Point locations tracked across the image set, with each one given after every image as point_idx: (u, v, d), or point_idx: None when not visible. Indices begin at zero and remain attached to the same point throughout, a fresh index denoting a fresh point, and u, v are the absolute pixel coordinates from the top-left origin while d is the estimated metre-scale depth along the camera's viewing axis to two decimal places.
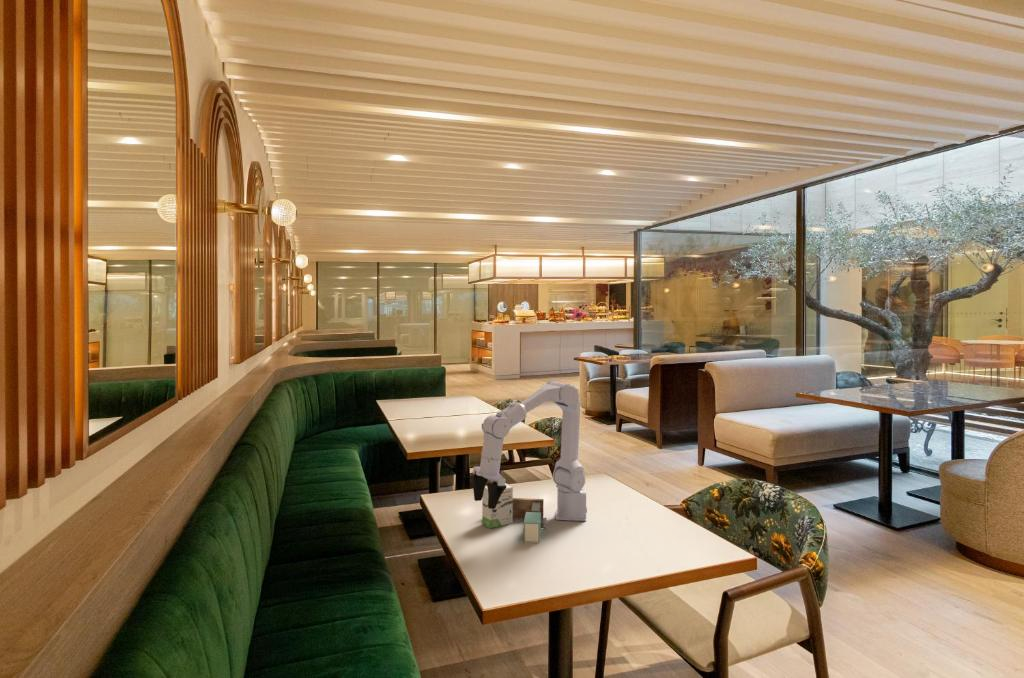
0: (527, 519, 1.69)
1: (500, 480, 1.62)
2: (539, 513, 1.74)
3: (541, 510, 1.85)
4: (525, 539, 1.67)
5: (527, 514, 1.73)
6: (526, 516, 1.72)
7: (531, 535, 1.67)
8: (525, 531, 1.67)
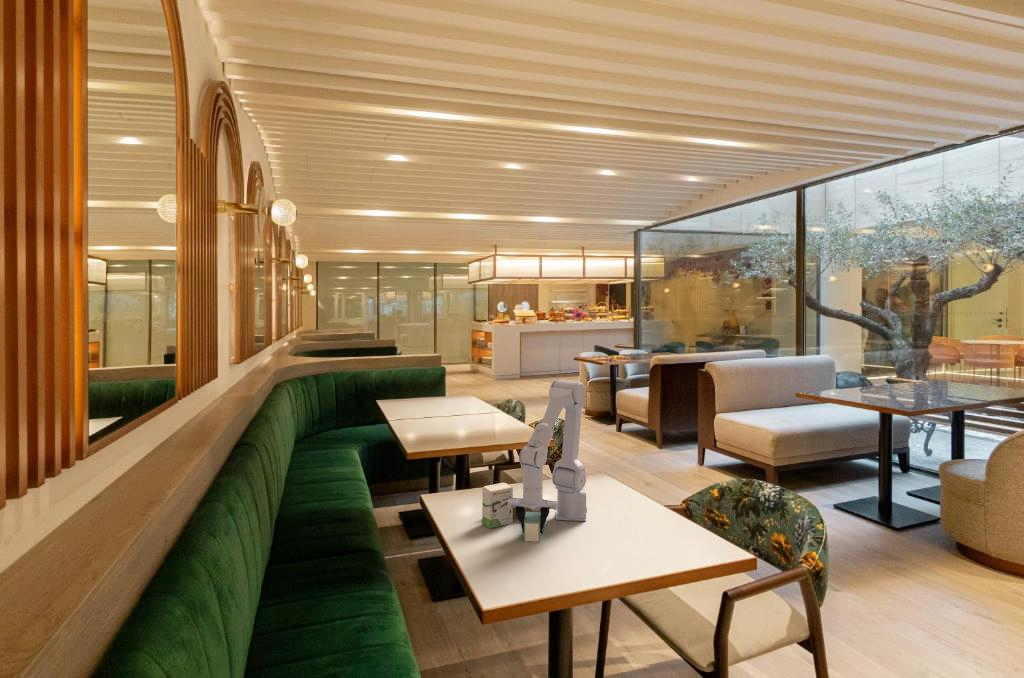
0: (527, 519, 1.69)
1: (557, 504, 1.69)
2: (539, 512, 1.74)
3: None
4: (525, 539, 1.67)
5: (527, 514, 1.73)
6: (526, 516, 1.71)
7: (531, 535, 1.67)
8: (525, 531, 1.67)
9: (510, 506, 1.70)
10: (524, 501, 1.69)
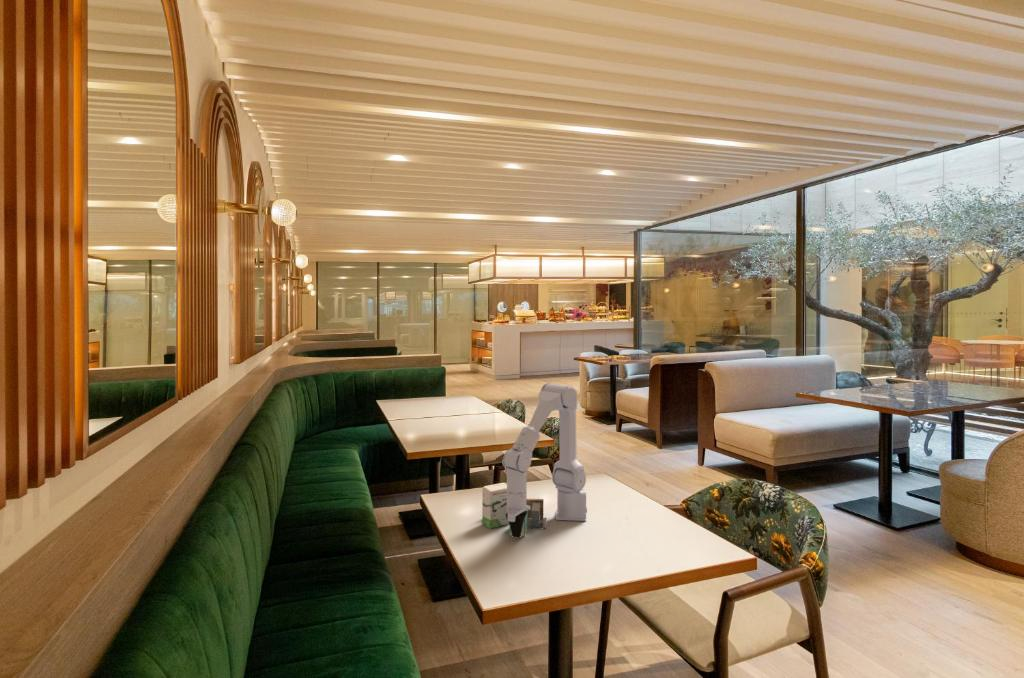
0: None
1: None
2: None
3: (541, 510, 1.85)
4: (511, 533, 1.71)
5: None
6: None
7: None
8: None
9: (514, 519, 1.62)
10: (520, 507, 1.66)
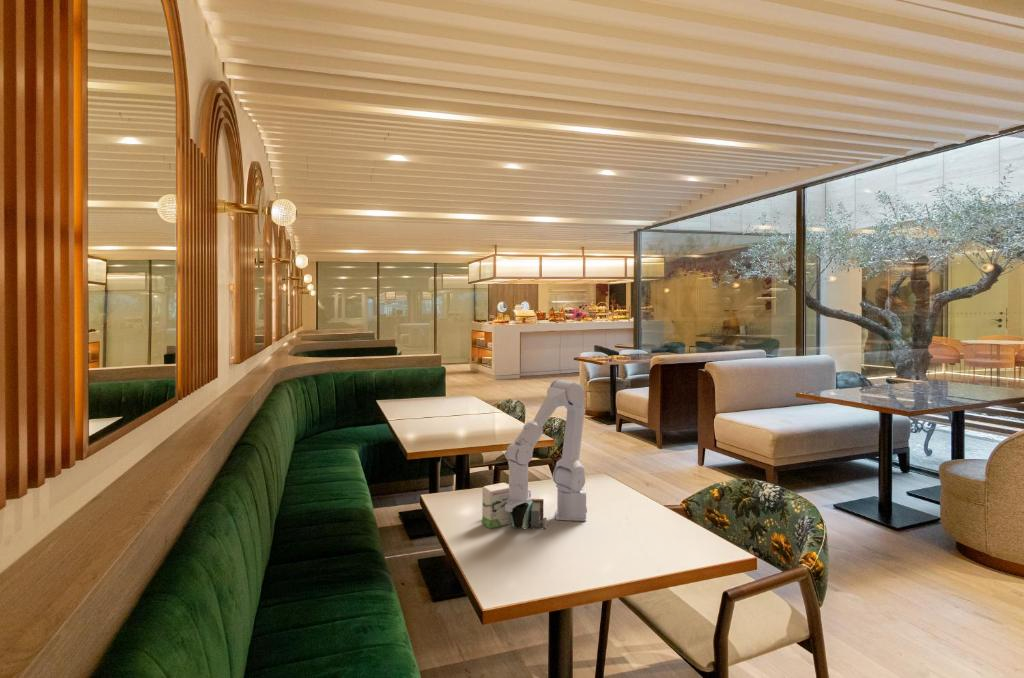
0: None
1: None
2: (530, 501, 1.84)
3: (541, 510, 1.85)
4: (513, 524, 1.78)
5: None
6: None
7: None
8: None
9: (512, 509, 1.69)
10: (520, 498, 1.72)
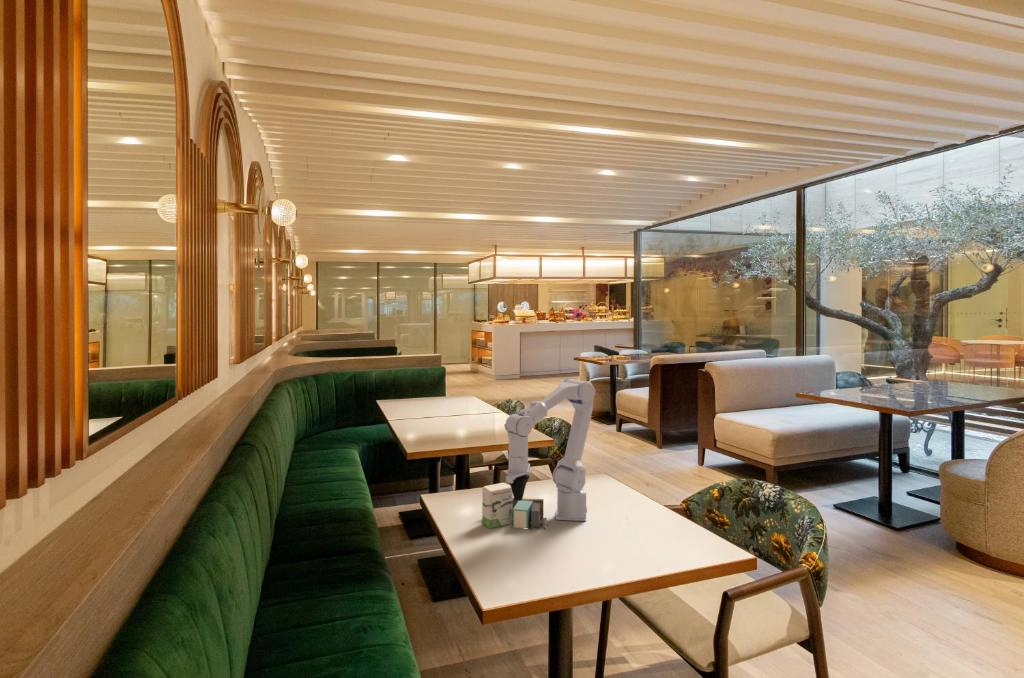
0: (517, 506, 1.79)
1: None
2: (531, 501, 1.84)
3: (541, 510, 1.85)
4: (514, 525, 1.78)
5: (519, 502, 1.83)
6: (517, 504, 1.82)
7: (520, 522, 1.77)
8: (514, 517, 1.78)
9: (512, 480, 1.67)
10: (520, 470, 1.71)
